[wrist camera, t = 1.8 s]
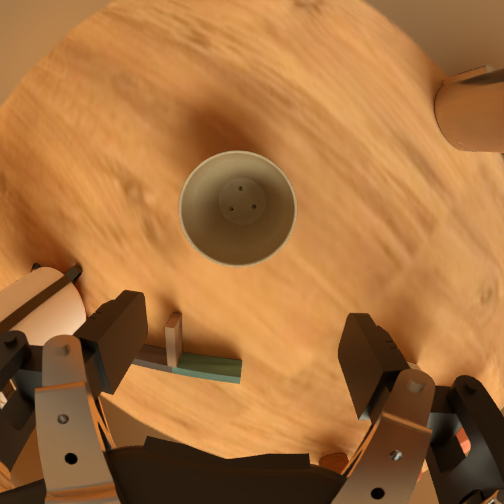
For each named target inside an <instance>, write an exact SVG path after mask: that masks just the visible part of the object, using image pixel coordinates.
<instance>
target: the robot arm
mask: <svg viewBox="0 0 504 504" xmlns="http://www.w3.org/2000/svg"><path fill="white" fill-rule="evenodd" d="M435 114H436V119H437V122H438V125H439V127H440V130H441V131H442V133H443V135H444V137H445V138H446V139H447V140H448V142H449V143H450V144H451V145H453V146H454V147H455V148H457V149H459V150H462V151H472V152H477V151H481V152H499V153H504V68H503V69H498V70H495V69H494V68H492V67H491V66H489V65H484V66H481V67H477V68H474V69H471V70H469V71H466V72H463V73H460V74H457V75H454V76H452V77H449V78H446V79H444V80H443V86H442V88H441V89H440V90H439V91H438V93H437V95H436V99H435ZM147 332H148V324H147V315H146V305H145V296H144V294H143V293H142V292H136V291H130V290H124V291H123V292H122V293H121V294H120V295H119V296H118V297H117V298H116V299H115V300H111V301H109V302H107V303H104V304H102V305H101V306H100V307H99V308H98V309H97V310H96V311H95V313H93V314H92V315H91V316H90V318H88V319H87V320H86V321H85V322H84V323H83V324H82V325H81V326H80V327H79V328H78V329H77V330H76V331H75V332H74V333H73V335H66V334H64V335H57V336H54V337H52V338H50V339H49V340H48V341H47V342H46V343H45V344H44V346H38V345H29V342H28V340H27V337H26V335H25V333H23V332H22V331H19V330H12V331H8V332H5V333H3V334H2V335H1V336H0V392H1V391H2V389H3V388H4V387H5V386H6V384H7V383H8V382H9V381H10V379H11V380H12V382H13V384H14V386H15V388H16V390H15V391H14V393H13V394H12V395H11V397H10V398H9V399H8V401H7V402H6V404H5V405H4V406H3V408H2V409H1V408H0V504H408V502H409V500H410V497H411V495H412V493H413V490H414V487H415V485H416V482H417V480H418V477H419V474H420V472H421V469H422V466H423V463H424V460H425V459H426V462H427V465H428V468H429V471H430V474H431V477H432V481H433V484H434V487H435V491H436V494H437V497H438V501H439V504H504V417H503V415H502V413H501V412H500V410H499V409H498V407H497V405H496V404H495V402H494V401H493V399H492V398H491V396H490V395H489V393H488V392H487V390H486V389H485V388H484V386H483V385H482V383H481V382H480V381H478V380H477V379H475V378H474V377H471V376H467V375H462V376H459V377H457V378H456V380H455V381H454V383H453V385H452V386H451V387H446V386H436V385H435V383H434V381H433V379H432V378H431V377H430V376H429V375H428V374H426V373H425V372H423V371H420V370H417V369H411V368H410V366H409V364H408V363H407V361H406V360H405V358H404V357H403V355H402V353H401V352H400V350H399V349H397V346H396V344H395V343H394V342H393V340H392V338H391V336H390V335H389V333H388V332H386V331H385V330H384V329H383V328H381V327H380V326H376V324H375V323H374V321H373V320H372V318H371V317H370V315H369V314H367V313H350V314H349V315H348V317H347V319H346V323H345V327H344V330H343V333H342V337H341V340H340V343H339V348H338V359H339V363H340V365H341V368H342V371H343V374H344V377H345V380H346V383H347V386H348V389H349V392H350V395H351V398H352V401H353V404H354V407H355V411H356V414H357V417H358V420H367V419H370V420H371V423H372V424H371V425H370V427H369V428H368V430H367V432H366V434H365V436H364V437H363V439H362V441H361V443H360V444H359V446H358V448H357V450H356V451H355V453H354V455H353V456H352V458H351V459H350V461H349V463H348V464H347V466H346V467H345V468H344V470H343V471H342V473H341V474H340V473H338V472H336V471H333V470H331V469H328V468H326V467H322V466H319V465H315V464H310V459H309V453H308V454H264V455H257V456H250V457H242V458H233V459H224V458H221V457H218V456H215V455H212V454H209V453H206V452H203V451H201V450H198V449H196V448H193V447H190V446H188V445H186V444H181V443H175V442H171V441H166V440H162V439H158V438H154V437H150V436H147V438H146V441H145V444H144V446H143V445H135V446H125V447H119V448H116V446H115V444H114V442H113V439H112V437H111V434H110V431H109V428H108V425H107V422H106V419H105V416H104V413H103V409H102V405H101V402H100V399H99V395H100V393H101V392H105V393H108V394H112V395H113V394H114V392H115V391H116V389H117V387H118V386H119V384H120V382H121V380H122V379H123V377H124V375H125V374H126V372H127V370H128V368H129V367H130V365H131V363H132V362H133V360H134V358H135V357H136V355H137V353H138V352H139V350H140V348H141V347H142V345H143V344H144V342H145V340H146V337H147ZM35 426H37V436H38V445H39V452H40V458H41V464H42V470H43V475H44V478H43V479H41V480H38V481H35V482H32V483H29V484H27V485H24V486H21V487H17V488H14V485H13V484H12V483H11V477H10V472H11V470H12V468H13V466H14V464H15V462H16V460H17V458H18V456H19V454H20V452H21V451H22V449H23V447H24V445H25V443H26V442H27V440H28V438H29V436H30V435H31V433H32V431H33V430H34V428H35ZM462 427H463V429H464V431H465V433H466V435H467V437H468V439H469V441H470V445H471V448H470V452H469V454H468V456H467V457H466V456H465V454H464V452H463V449H462V447H461V445H460V443H459V440H458V438H457V436H456V434H457V433H458V432H459V430H460V429H461V428H462Z"/></svg>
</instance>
